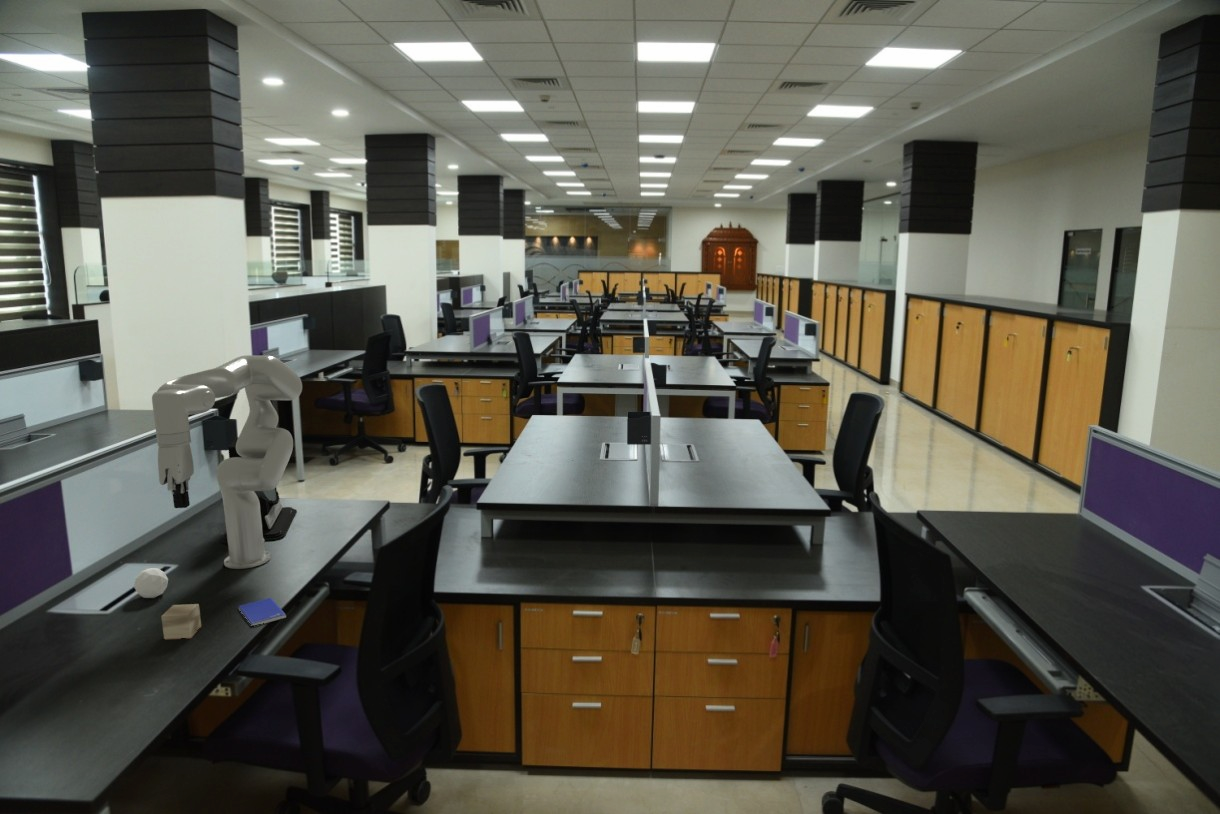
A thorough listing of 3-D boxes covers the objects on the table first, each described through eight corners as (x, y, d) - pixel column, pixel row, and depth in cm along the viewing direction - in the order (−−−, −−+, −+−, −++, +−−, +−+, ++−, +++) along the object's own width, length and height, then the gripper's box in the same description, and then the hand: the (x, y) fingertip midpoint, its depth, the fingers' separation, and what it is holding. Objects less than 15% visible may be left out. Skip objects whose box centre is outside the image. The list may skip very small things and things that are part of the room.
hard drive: (285, 613, 196) (271, 597, 205) (251, 623, 191) (238, 605, 200) (286, 619, 196) (272, 602, 205) (251, 629, 191) (238, 611, 200)
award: (283, 540, 249) (274, 449, 243) (219, 545, 245) (209, 453, 239) (298, 510, 278) (290, 428, 272) (241, 514, 274) (232, 431, 268)
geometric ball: (159, 607, 208) (159, 590, 203) (128, 598, 207) (127, 582, 202) (173, 583, 214) (173, 567, 209) (143, 575, 213) (142, 558, 208)
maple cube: (161, 616, 184) (164, 639, 185) (187, 615, 184) (190, 638, 186) (173, 605, 190) (175, 627, 191) (198, 603, 190) (201, 626, 191)
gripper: (171, 432, 206) (179, 498, 210) (144, 445, 192) (153, 517, 195) (201, 431, 207) (208, 497, 211) (176, 444, 192) (185, 515, 196)
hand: (182, 506), depth 203 cm, fingers closed
